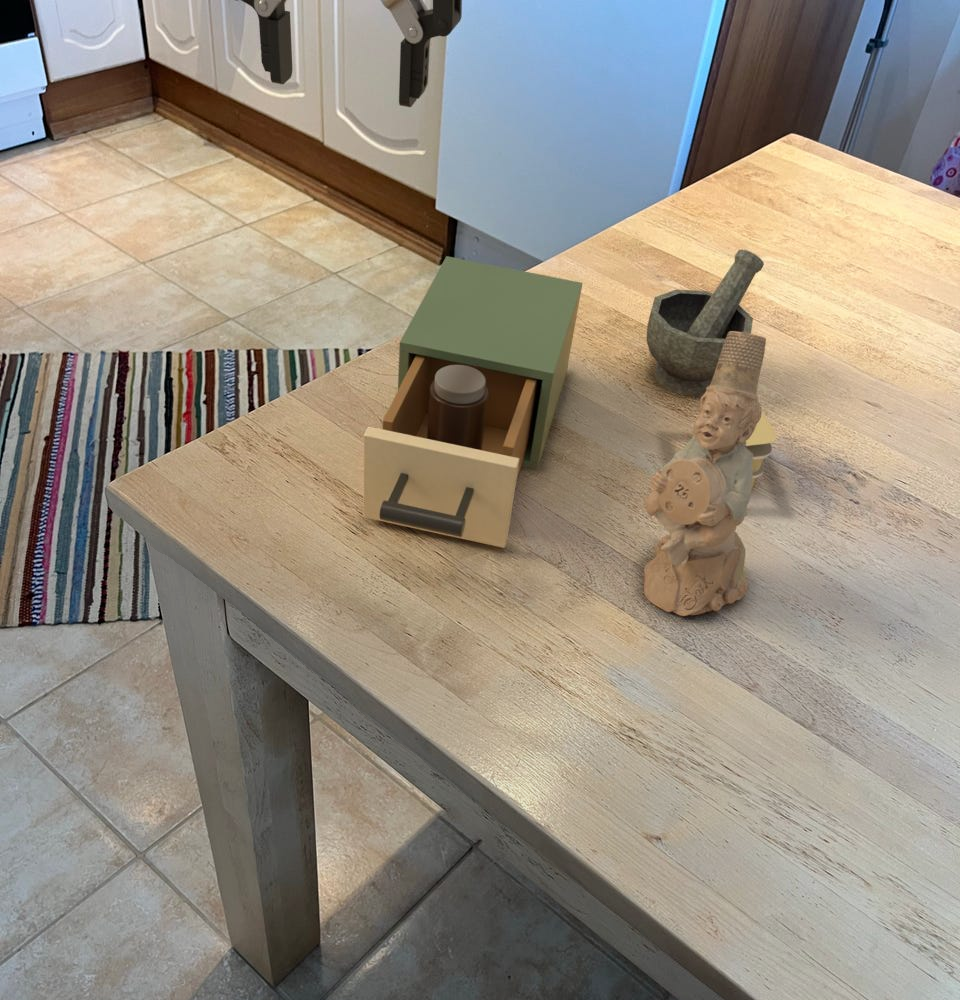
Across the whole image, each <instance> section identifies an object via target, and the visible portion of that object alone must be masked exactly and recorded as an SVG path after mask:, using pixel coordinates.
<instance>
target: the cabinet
mask: <svg viewBox="0 0 960 1000" xmlns="http://www.w3.org/2000/svg"><path fill="white" fill-rule="evenodd" d="M582 288H583V282H580V281H575V280H571V279H565V278H560V277H555V276H550V275H545V274H539V273H535V272H531V271H530V272H529V271H524V270H520V269H515V268H510V267H504V266H499V265H494V264H490V263H489V264H488V263H484V262H479V261H473V260H469V259H468V260H467V259H464V258H458V257H453V256H445V258H444V260H443V262H442V264H441V265H440V267H439V269H438V271H437V273H436V274H435V276H434V278H433V280H432V282H431V283H430V285H429V287H428V289H427V291H426V292H425V295H424V296H423V299H422V300H421V302H420V303H419V305H418V308H417V309H416V311H415V313H414V315H413V317H412V319H411V321H410V323H409V324H408V326H407V328H406V329H405V331H404V333H403V335H402V337H401V339H400V341H399V348H398V349H399V351H398V375H397V377H398V378H397V379H398V380H397V391H398V390H399V388H400V386H401V384H402V382H403V380H404V378H405V376H406V374H407V372H408V370H409V368H410V366H411V364H412V362H413V360H414V358H415V356H416V355H417V354H418V355H423V356H428V357H433V358H438V359H443V360H448V361H453V362H458V363H462V364H467V365H472V366H477V367H482V368H487V369H492V370H497V371H502V372H506V373H511V374H516V375H521V376H526V377H531V378H536V379H540V380H539V386H538V392H537V399H536V405H535V411H534V418H533V424H532V430H531V437H530V440H529V443H528V446H527V449H526V452H525V456H524V459H523V462H522V465H521V467H525V468H530V469H535V470H538V469H539V466H540V463H541V459H542V457H543V452H544V449H545V446H546V444H547V443H546V442H547V440H548V436H549V433H550V430H551V427H552V423H553V419H554V417H555V413H556V409H557V407H558V403H559V399H560V396H561V394H562V389H563V387H564V382H565V380H566V377H567V371H568V366H569V360H570V355H571V350H572V346H573V345H572V344H573V340H574V339H573V338H574V334H575V328H576V323H577V316H578V311H579V305H580V299H581V296H582V295H581V293H582Z"/></svg>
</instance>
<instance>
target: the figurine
mask: <svg viewBox="0 0 960 1000" xmlns="http://www.w3.org/2000/svg"><path fill="white" fill-rule="evenodd" d="M766 344H767V338H766V337H764V336H761V335H757V334H753V333H751V334H749V333H744V332H737V331H736V332H735V331H730V332H728V334H727V337H726V339H725V342H724V345H723V347H722V351H721V354H720V357H719V360H718V364H717V367H716V370H715V373H714V376H713V378H712V381H711V384H710V386H708V387H707V388H706V392H705V394H703V395H701V396H700V399H699V404H700V405H699V407H700V410H699V412H700V413H699V415H698V417H697V419H696V421H695V422H694V424H693V428H692V433H693V435H692V438H691V439H689V441H688V442H687V443H686V444H685V445H684V446H683V447H682V448H681V449H680V450H679V451H677V452H675V454H674V455H673V458H672V459H670V460H669V461H668V462H667V463H666V464H664V466H662V467H661V468H660V469H659V470H656V471H655V473H654V474H653V476H652V479H651V485H650V486H651V488H652V489H653V490H652V491H651V492H650V493H649V494H648V495H647V496H646V498H645V511H646V513H647V514H648V515H649V516H650V517H653V516H654V517H655V519H656V520H658V522H659V523H660V524H661V525H662V526H663V528H664V529H666V531H668V533H669V534H668V535H666V536H663V537H662V538H661V539H660V540H659V542H658V545H656V546H655V547H654V550H653V553H654V555H655V557H653V558H652V559H651V560H650V561H648V562H647V563H646V564H645V566H644V569H643V573H644V583H643V593H644V596H645V598H646V599H647V600H648V601H649V602H650V603H651V604H652V605H654V606H656V607H658V609H661V610H663V611H665V612H667V613H672V612H673V613H674V614H676V615H678V616H680V617H685V616H697V615H701V614H705V613H706V612H712V611H714V612H718V611H720V610H721V609H722V607H723V606H725V605H727V604H733V603H735V602H736V601H740V600H741V599H742V598H744V596H745V595H746V593H748V590H749V587H750V586H749V584H748V578H747V575H746V572H745V570H744V569H745V560H746V548H745V545H744V543H743V541H742V539H741V538H740V536H739V534H738V532H736V530H737V527H738V526H740V525H741V524H742V523H743V522H744V520H745V517H747V516H748V504H749V502H750V499H751V494H752V489H751V485H752V477H753V466H752V465H753V453H751V452H750V451H749V450H748V449H747V448H746V447H745V446H746V440H748V439H749V438H750V436H751V435H752V433H753V432H754V430H755V428H756V424H757V423H758V422H759V420H760V418H761V415H762V411H763V409H762V405H761V403H760V402H759V401H758V399H759V396H758V395H757V393H758V387H759V386H758V385H759V380H760V375H761V369H762V366H763V362H764V356H765V352H766ZM761 409H762V410H761Z"/></svg>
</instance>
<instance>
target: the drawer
mask: <svg viewBox="0 0 960 1000" xmlns="http://www.w3.org/2000/svg"><path fill="white" fill-rule="evenodd" d="M450 365H465V366H469V367H472V368H475V369H477V370H478V371H480V372H481V373H482V374H483V375H484V377H485V380H486V384H485V385H486V387H487V389H488V402H487V410H486V419H485V428H484V436H483V445H482V450H478V449H473V448H468V447H463V446H459V445H454V444H449V443H445V442H440V441H435V440H430V439H427V430H428V414H429V399H430V387H431V384H432V383H433V381H434V380H435V375H436V373H437V372H438V370H440V369H441V368H443V367H446V366H450ZM539 380H540V379H536V378H531V377H526V376H521V375H516V374H511V373H506V372H502V371H497V370H492V369H487V368H482V367H477V366H472V365H467V364H462V363H458V362H453V361H448V360H443V359H438V358H433V357H428V356H423V355H418V354H417V355H416V356H415V358H414V360H413V362H412V364H411V366H410V368H409V370H408V372H407V374H406V376H405V378H404V380H403V382H402V384H401V386H400V388H399V390H398V389H397V392H396V394H395V395H394V397H393V399H392V402H391V404H390V405H389V407H388V409H387V411H386V413H385V415H384V417H383V419H382V427H381V428H378V427H373V426H368V427H367V428H366V430H365V432H364V434H363V465H362V466H363V473H362V474H363V475H362V476H363V477H362V478H363V479H362V481H363V484H362V485H363V489H362V490H363V492H362V494H363V495H362V516H363V518H366V519H371V520H375V521H380V522H383V523H388V524H393V525H397V526H403V527H407V528H411V529H412V528H413V529H416V530H421V531H426V532H430V533H434V534H438V535H443V536H447V537H452V538H457V539H462V540H466V541H470V542H476V543H480V544H485V545H488V546H494V547H497V548H502V549H503V548H504V549H505V548H506V545H507V542H508V538H509V533H510V525H511V518H512V513H513V507H514V498H515V493H516V492H515V491H516V486H517V480H518V476H519V473H520V471H521V468H522V466H521V465H522V462H523V459H524V456H525V452H526V449H527V446H528V443H529V440H530V437H531V430H532V424H533V418H534V411H535V405H536V399H537V392H538V386H539Z"/></svg>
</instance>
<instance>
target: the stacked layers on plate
mask: <svg viewBox="0 0 960 1000" xmlns="http://www.w3.org/2000/svg"><path fill="white" fill-rule="evenodd" d="M761 410H762V415H761V418H760V420H759V422H758V423H757V424H756V428H755V430H754V432H753V433H752V435H751V436H750V438H749V439H748V440H746V446H745V447H746V448H747V449H748V450H749V451H750V452H751V453H753V465H752V466H753V477H752V485H751V490H752V489H753V488H754V485H755V482H756V479H757V478H759V477H761V476H762V475H763V474H764V470H765V464H764V463H763V461H764V459H765V458H768V457H769V456H770V455H771V453H772V450H773V447H772V443H773V442H774V441H775V440H776V439H777V432H776V431H775V429H774V427H773V425H772V424H771V422H770V420H769V419H768V417H767V415H766V414H765V412H764V410H763V409H761Z"/></svg>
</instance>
